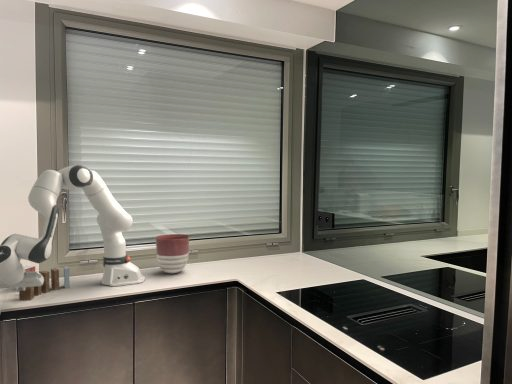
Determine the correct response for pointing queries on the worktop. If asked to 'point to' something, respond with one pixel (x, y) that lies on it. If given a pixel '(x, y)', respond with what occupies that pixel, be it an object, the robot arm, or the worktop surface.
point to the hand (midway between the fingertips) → (21, 289)
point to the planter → (172, 252)
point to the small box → (29, 269)
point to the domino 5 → (66, 277)
